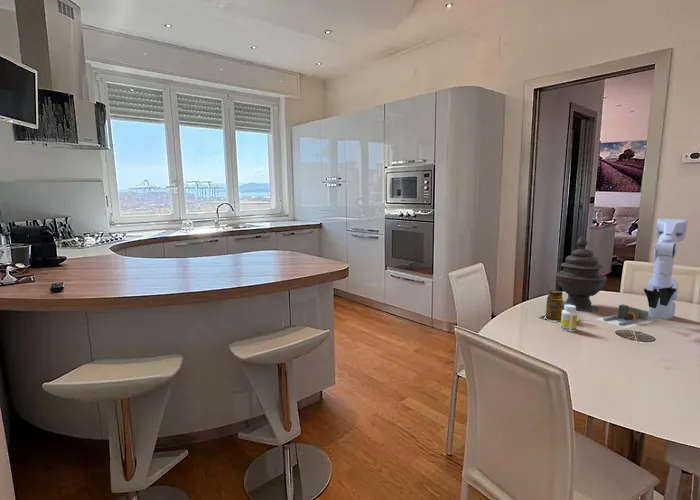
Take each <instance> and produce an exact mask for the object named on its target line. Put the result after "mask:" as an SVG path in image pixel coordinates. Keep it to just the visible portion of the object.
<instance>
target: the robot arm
mask: <svg viewBox="0 0 700 500" xmlns="http://www.w3.org/2000/svg"><path fill="white" fill-rule="evenodd" d="M687 229H688V219H687V218H684V219H679V218H676V219H675V218H661V217H660V218H658V219H657V221H656V238H657V239H658V241H657V242H656V243H655V244H654V249H653V262H654V263H653V270H652V277H651V278H649V281H648V283H647V284H646V288H643V292H644V293H645V296H646V298H647V304H648V311H649V313H648V317H651V318H654V319H660V320H670V319H671V318H675V313H676V302H675V301H677V300H678V299H677V298H678V291H679V283H678V281H677V280H675V279H674V278H673V270H674V269H673V267H674V259H675V258H676V255H677V249H678V243H679V242H683V241H685V238H686V234H687Z"/></svg>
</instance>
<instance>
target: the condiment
mask: <svg viewBox="0 0 700 500" xmlns="http://www.w3.org/2000/svg"><path fill="white" fill-rule="evenodd" d="M563 302H564V298H563V291H561V290H557V289H556V290H555V289H553V290H549V291H548V295H547V297H546V310H545V315H542V316H539V317H538V318H539V319H542V320H545V319H546V318H547V320H546V321H548V322H551V323H556V322H561V316H562V311H563V308H562V305H563ZM545 316H546V318H545V319H544V317H545ZM554 320H555V321H554Z"/></svg>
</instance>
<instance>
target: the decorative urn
mask: <svg viewBox="0 0 700 500" xmlns="http://www.w3.org/2000/svg"><path fill="white" fill-rule="evenodd" d="M588 243H589V242H588V241H587V240H586V238H584V236H583V235H580V237H579V239H578V240H577V241H576V245H577V246H578V247H579V249H574V250H572V251H571V252H570V253H571V254H570V255H568V256H566V257H565V262H562V263H561V264H560V266H561V267H562V268H563V270H560V271H558V272H556V273H555V280H556V281H557V285H558V286H559V287H560V288H561V290H562V292H564V293H565V294H567V298H566V300H563V305H562V310H565V309H564V305H567V304H568V305H574V306H576V310H575V311H576V312H581V313H582V312H584V313H592V312H593V313H594V312H595V313H596V312H598V311H599V307H598V306H596V305H592V301H591V298H590V297H593V296H595V295H597V294H598V293H599V292H600V291H602V290H603V289H604V286H605V285H606V284H607V280H608V278H607V276H606V275H604V274H602V273H600V270H601V269H603V268H604V266H603V265H602V264H599V257H596V256H594V251H592V250H590V249H587V248H585V247H586V246H587V245H588Z"/></svg>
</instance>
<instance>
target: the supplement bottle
mask: <svg viewBox="0 0 700 500" xmlns="http://www.w3.org/2000/svg"><path fill="white" fill-rule="evenodd" d="M564 309H565V310H564ZM564 309H562V316H561V321H560V329H561V330H562V331H565V332H572V333H573V332H576V331H577V323H578V311H575V310H576V306H574V305H568V304H567V305H564Z"/></svg>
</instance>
